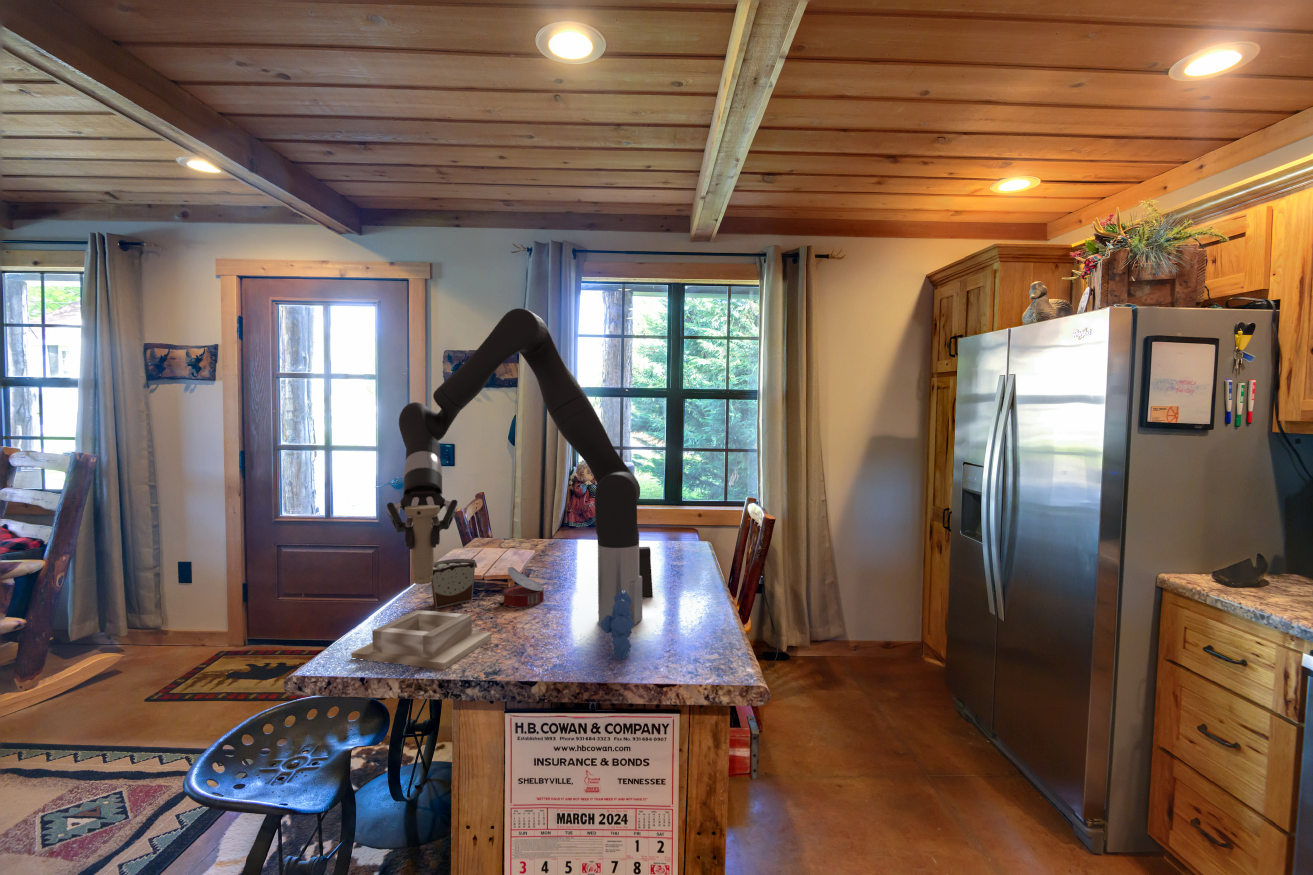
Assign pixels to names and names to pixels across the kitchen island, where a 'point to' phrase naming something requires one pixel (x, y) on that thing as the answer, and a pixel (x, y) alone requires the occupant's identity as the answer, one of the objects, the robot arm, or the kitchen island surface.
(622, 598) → the grapes
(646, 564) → the door stopper
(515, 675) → the kitchen island surface
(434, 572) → the food container
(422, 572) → the handle
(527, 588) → the canned food
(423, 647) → the socket stand
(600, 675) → the kitchen island surface
